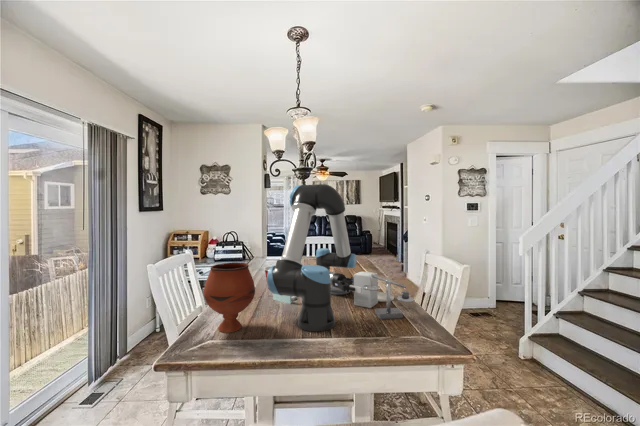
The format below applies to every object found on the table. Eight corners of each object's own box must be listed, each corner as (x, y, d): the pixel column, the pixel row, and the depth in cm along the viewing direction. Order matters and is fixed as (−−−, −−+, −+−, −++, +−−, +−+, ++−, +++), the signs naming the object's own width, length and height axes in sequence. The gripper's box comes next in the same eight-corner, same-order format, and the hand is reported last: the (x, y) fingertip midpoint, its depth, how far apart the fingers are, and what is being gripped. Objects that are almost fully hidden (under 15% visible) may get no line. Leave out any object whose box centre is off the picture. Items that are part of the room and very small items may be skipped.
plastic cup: (281, 291, 171) (281, 270, 171) (262, 291, 171) (262, 270, 171) (284, 286, 182) (284, 266, 182) (266, 286, 182) (265, 266, 182)
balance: (365, 319, 129) (365, 276, 128) (361, 313, 136) (361, 272, 135) (416, 317, 131) (416, 274, 130) (409, 311, 138) (409, 271, 137)
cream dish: (372, 302, 150) (372, 300, 150) (365, 295, 163) (365, 292, 163) (397, 301, 152) (397, 299, 152) (389, 294, 165) (389, 291, 164)
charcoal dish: (328, 295, 162) (328, 293, 162) (325, 289, 175) (325, 286, 175) (352, 294, 164) (352, 292, 164) (347, 288, 176) (347, 286, 176)
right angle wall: (290, 305, 150) (289, 289, 150) (272, 300, 157) (272, 285, 157) (305, 298, 159) (305, 284, 159) (288, 294, 167) (288, 281, 166)
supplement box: (378, 303, 150) (378, 272, 149) (370, 308, 142) (370, 276, 142) (361, 300, 155) (361, 270, 154) (353, 305, 147) (353, 274, 147)
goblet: (260, 319, 130) (259, 260, 129) (248, 338, 111) (247, 270, 110) (215, 318, 131) (214, 260, 130) (196, 338, 111) (194, 270, 111)
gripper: (351, 282, 171) (383, 289, 156) (320, 292, 153) (353, 301, 138) (351, 269, 171) (383, 275, 156) (319, 277, 153) (353, 284, 138)
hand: (369, 287), depth 147 cm, fingers open, 13 cm apart
